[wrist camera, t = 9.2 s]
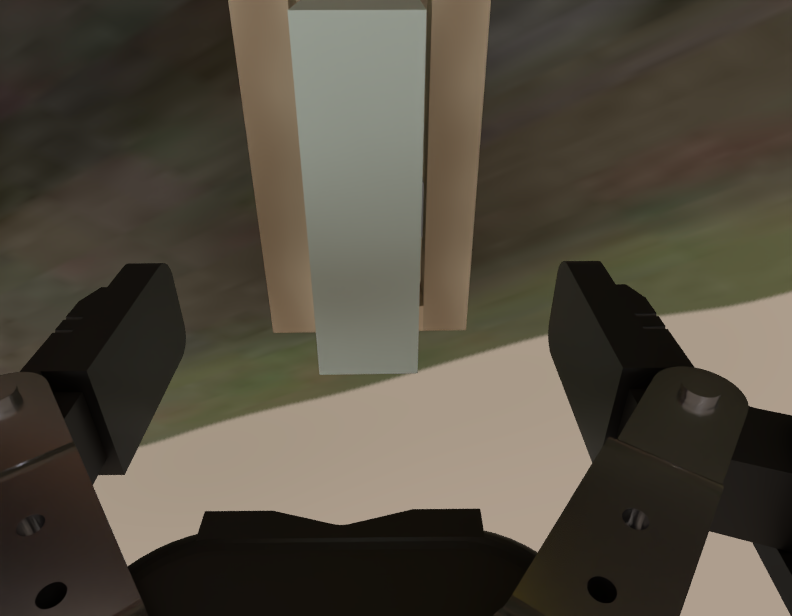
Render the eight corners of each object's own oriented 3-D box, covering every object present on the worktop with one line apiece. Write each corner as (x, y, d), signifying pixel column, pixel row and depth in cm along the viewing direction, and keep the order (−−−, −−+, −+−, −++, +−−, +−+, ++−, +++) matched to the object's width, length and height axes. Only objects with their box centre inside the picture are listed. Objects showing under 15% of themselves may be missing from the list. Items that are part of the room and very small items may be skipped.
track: (485, -106, 19) (499, -111, 17) (458, 297, 27) (465, 330, 25) (232, -106, 19) (213, -112, 16) (282, 300, 27) (273, 332, 24)
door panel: (413, -16, 19) (431, 9, 13) (409, 254, 25) (420, 373, 18) (316, -16, 19) (282, 9, 13) (333, 255, 25) (316, 374, 18)
